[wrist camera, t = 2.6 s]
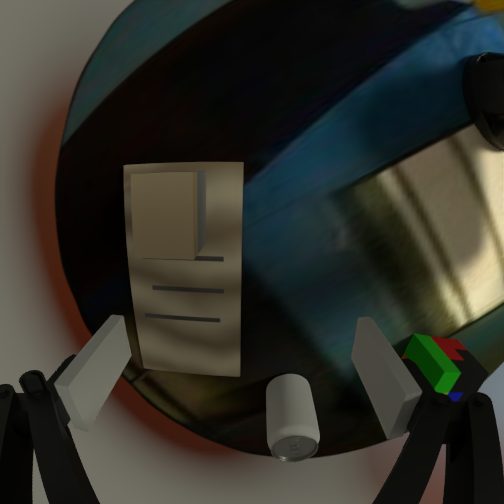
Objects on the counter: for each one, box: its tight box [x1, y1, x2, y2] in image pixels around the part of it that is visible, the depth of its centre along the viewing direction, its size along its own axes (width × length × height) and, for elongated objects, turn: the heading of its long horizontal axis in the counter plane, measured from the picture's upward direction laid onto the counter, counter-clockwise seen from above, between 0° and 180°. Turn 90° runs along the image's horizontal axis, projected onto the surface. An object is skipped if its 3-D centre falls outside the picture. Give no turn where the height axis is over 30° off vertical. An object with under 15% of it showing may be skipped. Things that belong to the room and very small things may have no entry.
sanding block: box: [131, 171, 206, 260], centre depth 30 cm, size 8×6×7 cm
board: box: [124, 162, 243, 377], centre depth 36 cm, size 28×14×1 cm, turn 179°
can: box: [266, 374, 320, 462], centre depth 36 cm, size 6×6×12 cm
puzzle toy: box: [401, 334, 489, 401], centre depth 35 cm, size 10×10×10 cm
